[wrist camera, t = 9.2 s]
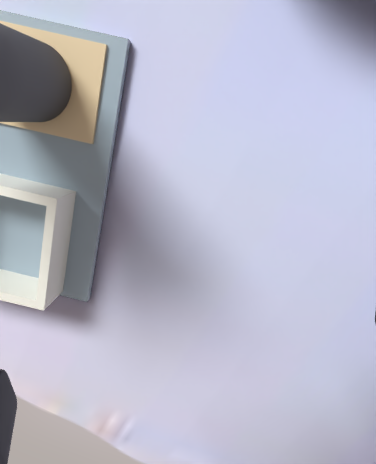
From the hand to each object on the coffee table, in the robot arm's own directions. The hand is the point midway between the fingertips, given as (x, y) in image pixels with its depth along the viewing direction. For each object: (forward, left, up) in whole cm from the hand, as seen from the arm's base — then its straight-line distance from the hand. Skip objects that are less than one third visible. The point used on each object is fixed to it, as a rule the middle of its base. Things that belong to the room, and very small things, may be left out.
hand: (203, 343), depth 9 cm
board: (+10, -1, -13) cm, 16 cm away
